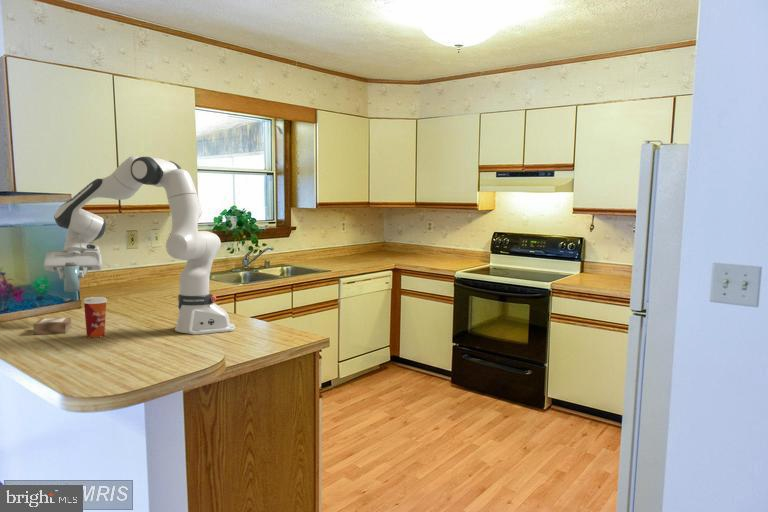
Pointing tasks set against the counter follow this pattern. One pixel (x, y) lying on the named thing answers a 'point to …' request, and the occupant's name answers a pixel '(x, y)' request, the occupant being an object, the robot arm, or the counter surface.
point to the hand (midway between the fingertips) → (71, 277)
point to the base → (52, 326)
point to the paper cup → (95, 316)
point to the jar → (71, 277)
